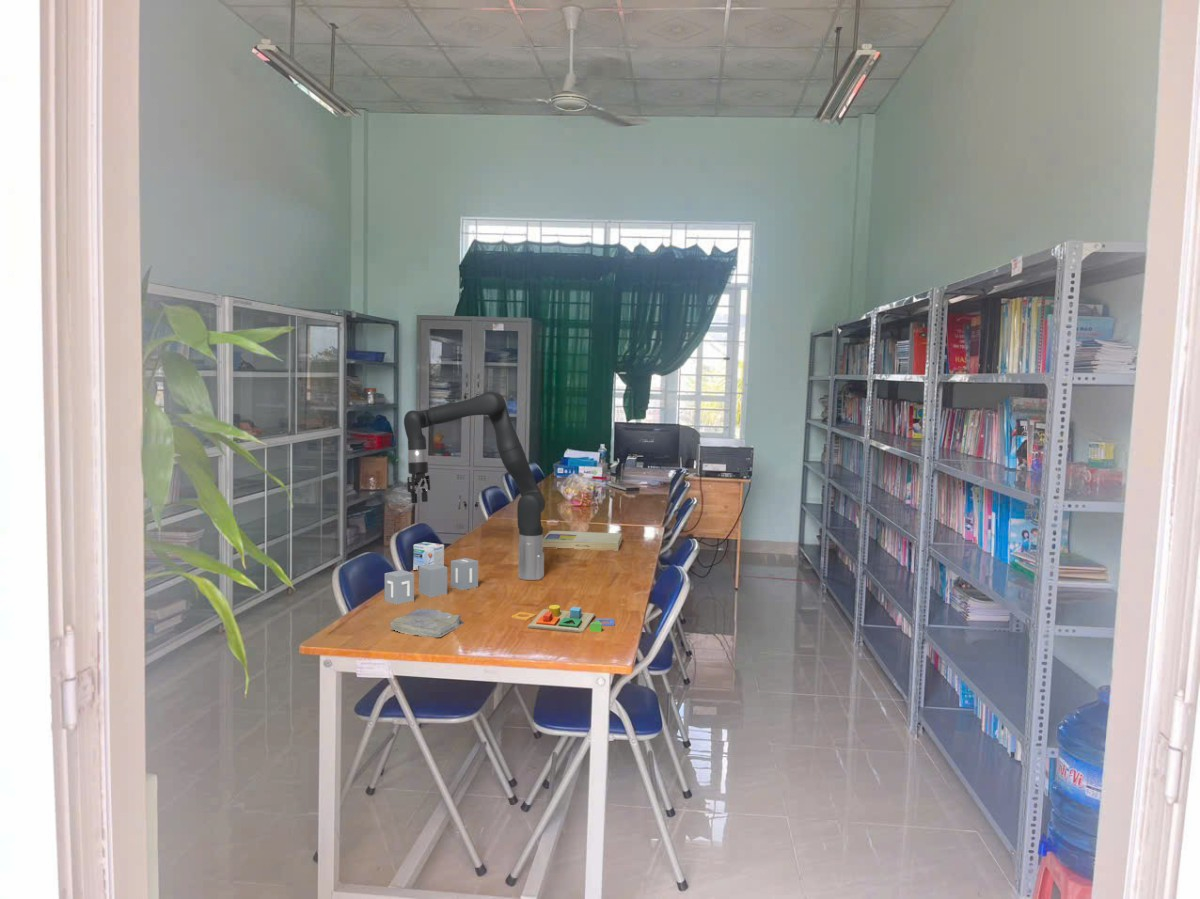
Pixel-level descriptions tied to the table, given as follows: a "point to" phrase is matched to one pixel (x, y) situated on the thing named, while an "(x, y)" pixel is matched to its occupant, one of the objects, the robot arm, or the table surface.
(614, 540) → the puzzle box
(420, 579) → the plain block
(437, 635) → the fossil
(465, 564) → the block marked 1
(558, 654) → the table surface
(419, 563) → the light bulb box
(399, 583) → the block marked 7
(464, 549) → the table surface
